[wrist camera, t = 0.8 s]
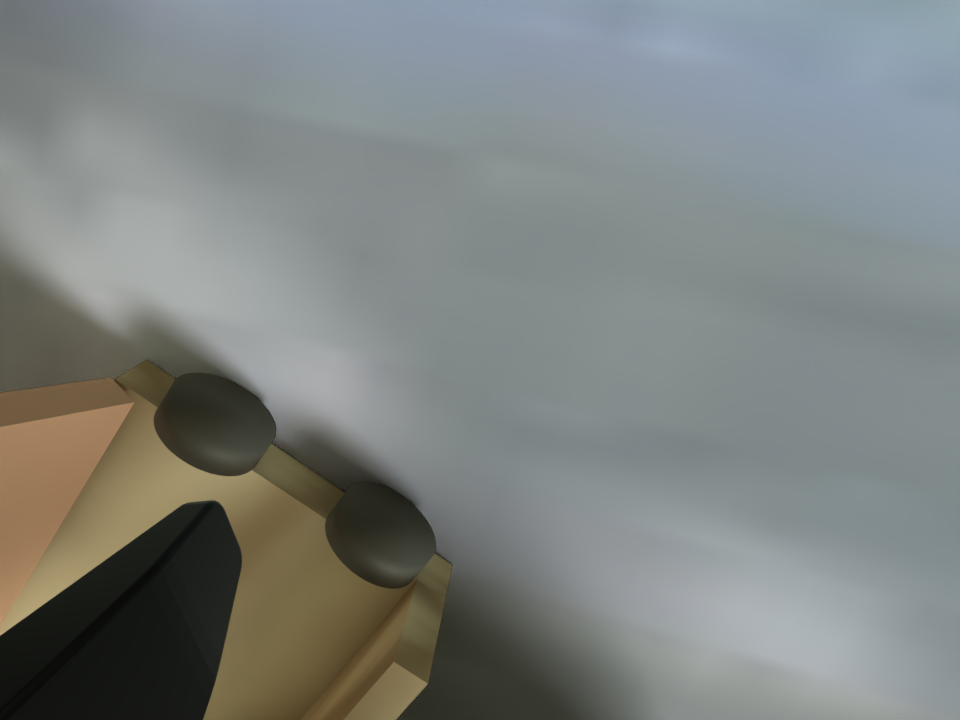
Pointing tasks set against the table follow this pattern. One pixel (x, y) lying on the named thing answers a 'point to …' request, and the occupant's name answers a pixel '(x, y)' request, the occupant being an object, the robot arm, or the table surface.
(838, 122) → the table surface
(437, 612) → the cart bed
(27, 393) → the tailgate
